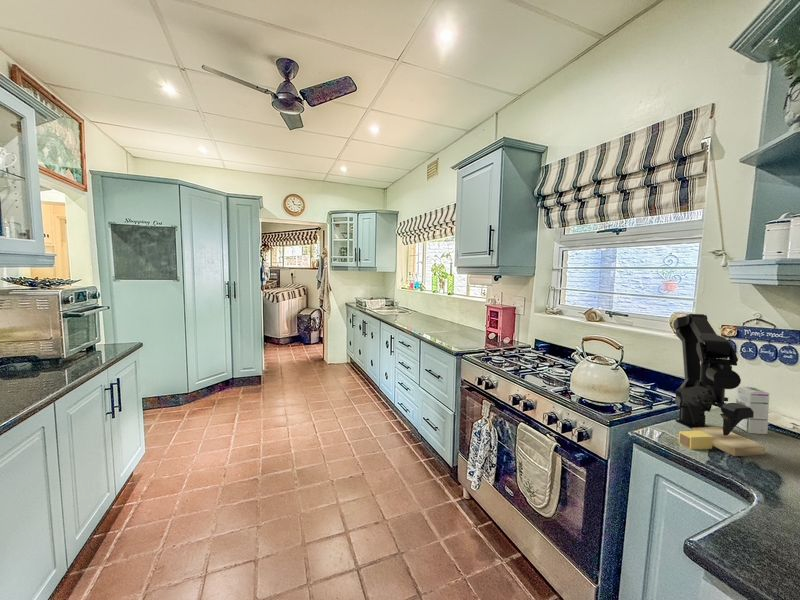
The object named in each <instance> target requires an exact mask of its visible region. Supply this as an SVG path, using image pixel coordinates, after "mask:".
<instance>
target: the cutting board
mask: <svg viewBox="0 0 800 600" xmlns="http://www.w3.org/2000/svg"><path fill="white" fill-rule="evenodd" d="M691 431H702V432H704V433H706V434H708V435H710V436H712V437H713V439H712V447H715V448H717V449H719V450H721V451H723V452H725V453H727V454H729V455H731V456H733V457H745V456H748V457H749V456H763V455H766V446H765V445H763V444H761V443H758V442H757V441H754V440H752V439H748V438H747V437H744V436H742V435H740V434H737V433H735V432H733V431H731V432H730V433H729V434H728V435H726V436H725V435H723V427H720V426H708V427H702V428H691Z"/></svg>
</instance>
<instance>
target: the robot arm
mask: <svg viewBox="0 0 800 600" xmlns="http://www.w3.org/2000/svg"><path fill="white" fill-rule="evenodd" d="M672 327H673V329H674V331H675V335H676V337H677V338H678V339H679V341H681V343H682V345H681V346H682V358H683V359H682V360H683V371H684V372H683V373H684V381H683V382H682V383H681V385H680V386H679V387H678V388H677V389H676V390H675V405H676V406H677V407H678V408H679V416H678V418H675V419H674V421H675V422H677V423H678V424H679V423H680V424H681V425H684V426H686V427H688V428H691V429H692V428H702V427H709V426H708V425H707V424H706V415H705V414H706V412H709V413H710V412H711V410H712V406H715V408H719V409H720V411H721V413H720V417H721V418H722V420H723V421H722V428H723V435H725V436H726V435H728V434H729V433H730V432H733V430H734V429H735V427H737V426H736V425H737V424H738V423H739V422H740V421H741V420H743V419H748V418H753V414H754V412H753V410H752V409H751V408H750V407H747V406H744V405H741V404H738V403H736V402H735V403H734V402H732V403H727V402H728V401H729V397H726V396H725V395H726V394H725V393H726V390H733V389H737V387H740V384H741V382H742V380H741V379H742V378H741V377H740V374H739V373H738V372H736V371H734V370H733V366H736V367H737V366H738V361H739V359H738V355H737V353H736V349H735V348H734V346H733V345H732V344H731V343H730V341H729V340H728V339H727V338H726V337H724V336H721V335H719V334H717V333H716V331H715V329H714V328H713V326H712V325H711V324H710V322H709V319H708V316H707V315H706V314H704V313H688V314H686V315H683V316H680V317H679V316H678V317H676V319H674V321H673V326H672Z"/></svg>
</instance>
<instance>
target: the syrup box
mask: <svg viewBox="0 0 800 600" xmlns="http://www.w3.org/2000/svg"><path fill="white" fill-rule="evenodd" d="M735 403H738V404H741V405H744V406H747V407H750V408H751V409H752V410H753V412H754V414H753V418H748V419H743V420H741V421H740V422H739V423H738V424H737V425H736V426H735V427H737V428H739V429H741V430H742V431H744V432H746V433H749V434H753V435H755V434H756V435H768V430H769V429H768V428H769V427H768V426H769V410H770V409H769V407H770V392H768V391H765V390H763V389H759V388H757V387H753V386H738V387H736V401H735Z"/></svg>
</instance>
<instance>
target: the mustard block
mask: <svg viewBox="0 0 800 600" xmlns="http://www.w3.org/2000/svg"><path fill="white" fill-rule="evenodd" d="M712 439H713V437H712V436H710V435H708V434H706V433H704V432H702V431H692V430H681V431H680V430H679V432H678V444H680V445H682V446H683V447H685V448H687V449H689V450H708V449H709V450H710V449H711V450H712V449H713V446H712Z"/></svg>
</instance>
